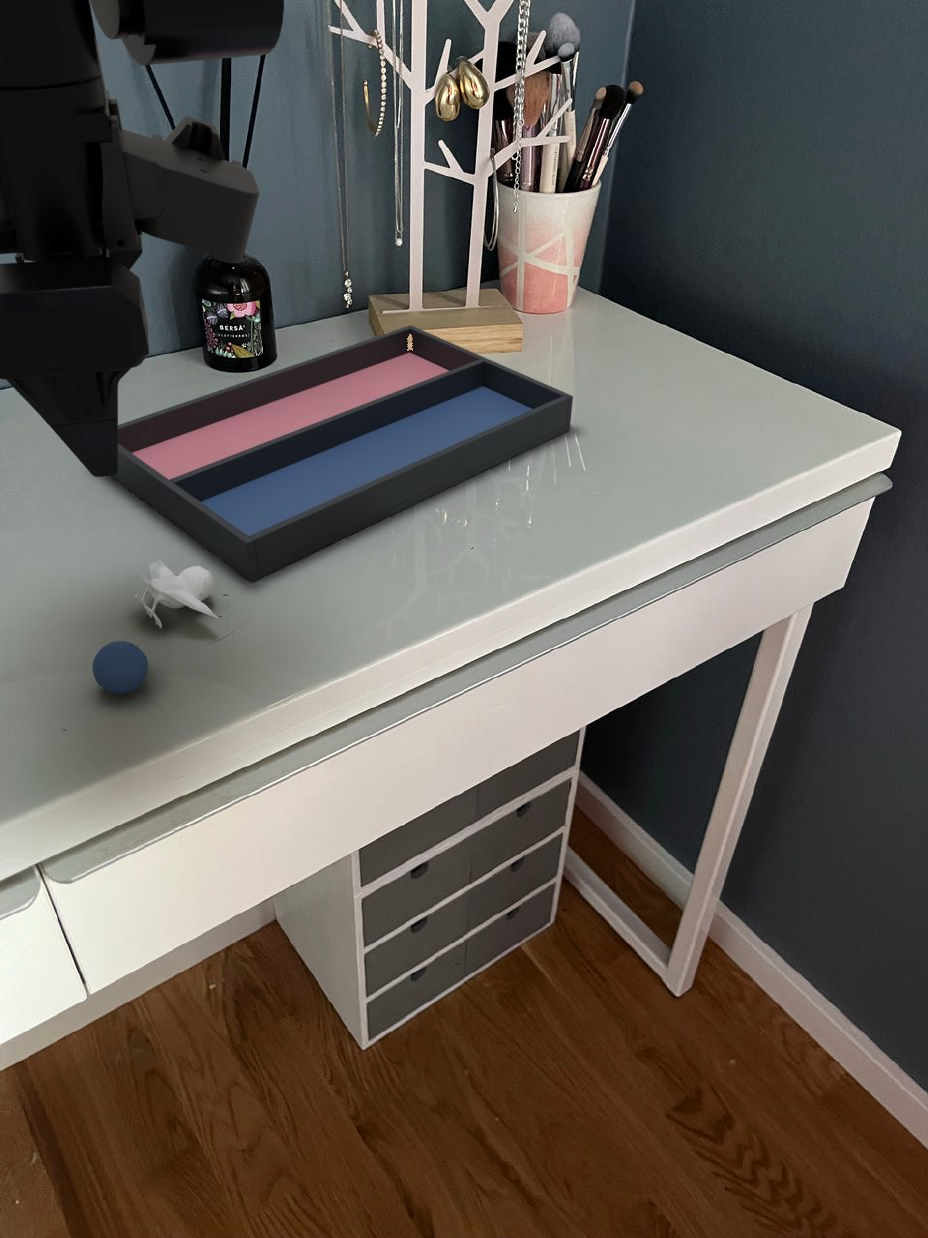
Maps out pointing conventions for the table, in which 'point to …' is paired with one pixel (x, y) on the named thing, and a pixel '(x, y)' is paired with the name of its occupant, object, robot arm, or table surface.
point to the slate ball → (120, 667)
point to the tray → (332, 445)
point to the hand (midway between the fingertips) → (106, 428)
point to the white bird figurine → (177, 588)
